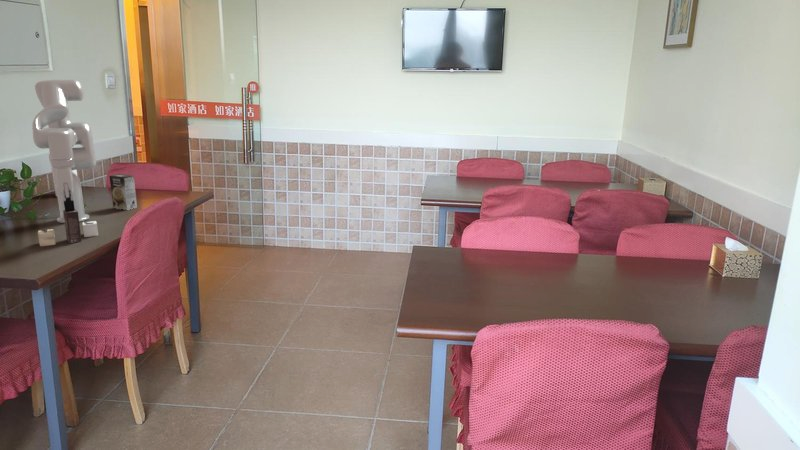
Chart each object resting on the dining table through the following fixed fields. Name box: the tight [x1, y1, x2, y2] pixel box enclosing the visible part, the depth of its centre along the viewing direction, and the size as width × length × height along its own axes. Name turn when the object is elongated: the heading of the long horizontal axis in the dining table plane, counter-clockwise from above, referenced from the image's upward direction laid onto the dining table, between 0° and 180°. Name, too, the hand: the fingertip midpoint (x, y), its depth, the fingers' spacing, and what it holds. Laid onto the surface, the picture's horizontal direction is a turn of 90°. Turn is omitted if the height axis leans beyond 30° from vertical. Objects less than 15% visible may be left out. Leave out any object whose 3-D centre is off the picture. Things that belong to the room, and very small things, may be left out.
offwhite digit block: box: [81, 220, 99, 238], centre depth 233 cm, size 5×5×5 cm
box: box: [63, 210, 82, 244], centre depth 224 cm, size 6×4×12 cm
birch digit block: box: [37, 228, 56, 247], centre depth 221 cm, size 5×5×5 cm
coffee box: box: [109, 173, 138, 211], centre depth 275 cm, size 9×6×16 cm
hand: (70, 210), depth 222 cm, fingers closed
